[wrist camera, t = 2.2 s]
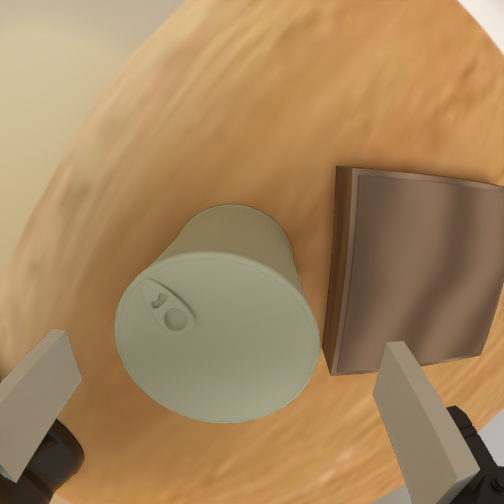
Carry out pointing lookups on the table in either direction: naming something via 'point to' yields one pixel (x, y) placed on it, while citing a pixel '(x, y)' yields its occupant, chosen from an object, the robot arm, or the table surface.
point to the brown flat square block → (411, 267)
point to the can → (220, 320)
